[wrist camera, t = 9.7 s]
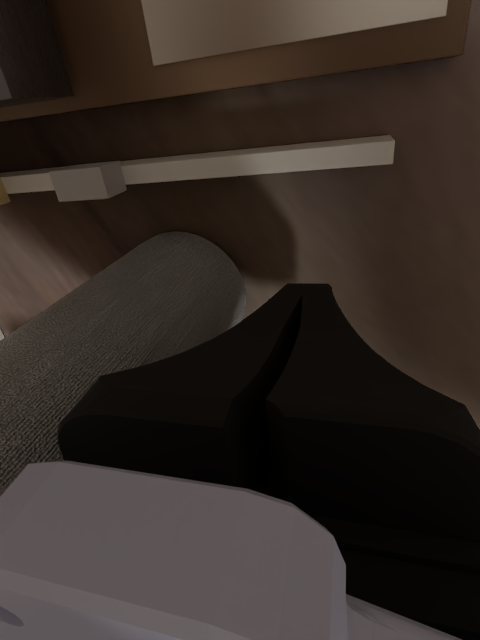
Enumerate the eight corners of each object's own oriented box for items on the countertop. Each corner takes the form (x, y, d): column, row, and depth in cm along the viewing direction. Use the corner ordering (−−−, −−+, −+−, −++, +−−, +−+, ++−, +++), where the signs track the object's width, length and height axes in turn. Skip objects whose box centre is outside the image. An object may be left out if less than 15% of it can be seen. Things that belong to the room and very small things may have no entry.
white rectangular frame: (391, 124, 9) (405, 137, 7) (368, 401, 14) (372, 469, 12) (-91, 174, 14) (-189, 193, 11) (14, 371, 19) (-38, 416, 16)
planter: (111, 247, 14) (-304, 508, 5) (219, 213, 12) (-162, 535, 3) (164, 348, 15) (-79, 658, 7) (265, 332, 14) (93, 730, 5)
